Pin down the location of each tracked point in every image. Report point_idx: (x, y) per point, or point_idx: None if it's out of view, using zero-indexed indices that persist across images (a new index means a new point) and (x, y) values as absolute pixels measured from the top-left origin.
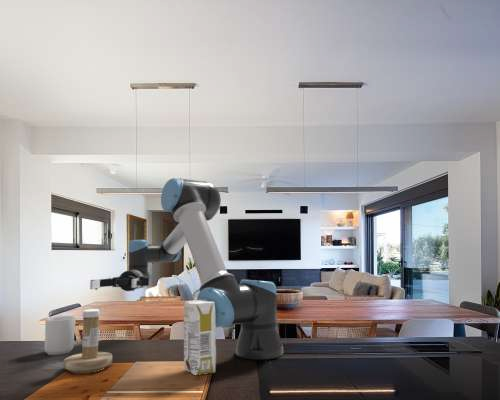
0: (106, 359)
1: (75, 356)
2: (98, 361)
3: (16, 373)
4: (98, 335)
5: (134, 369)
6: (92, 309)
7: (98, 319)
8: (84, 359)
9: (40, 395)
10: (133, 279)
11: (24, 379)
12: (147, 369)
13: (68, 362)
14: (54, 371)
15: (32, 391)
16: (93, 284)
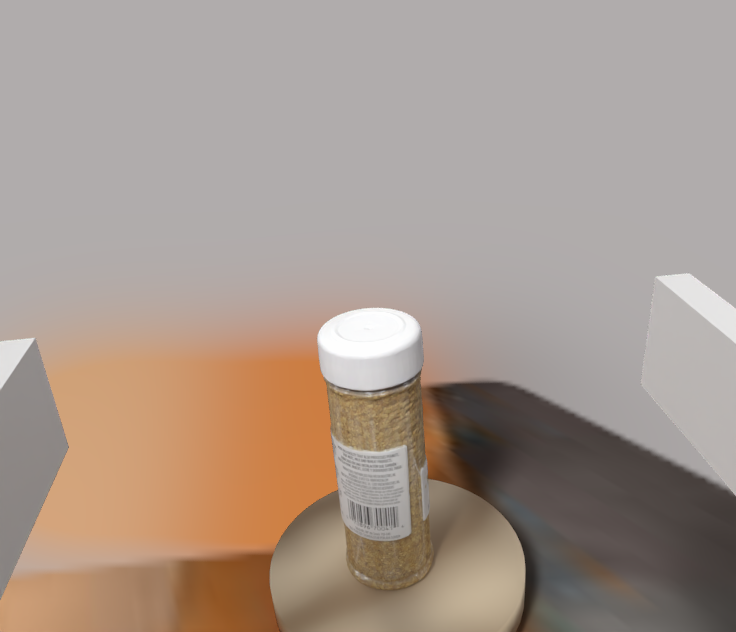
0: (279, 541)
1: (487, 567)
2: (306, 512)
3: (700, 508)
4: (339, 480)
5: (143, 611)
6: (372, 337)
7: (328, 392)
8: None
9: None
10: (3, 341)
11: (579, 464)
12: (73, 618)
13: (446, 488)
14: (543, 547)
15: (444, 401)
16: (667, 345)
